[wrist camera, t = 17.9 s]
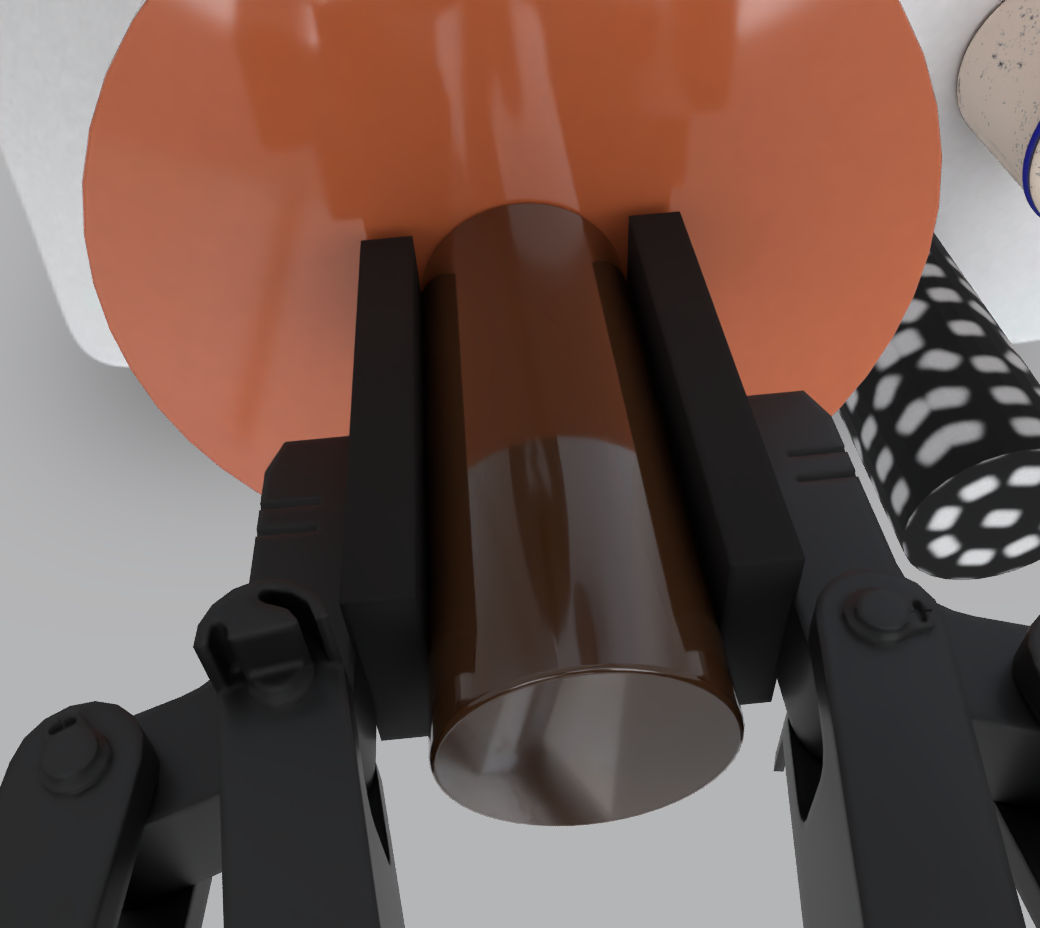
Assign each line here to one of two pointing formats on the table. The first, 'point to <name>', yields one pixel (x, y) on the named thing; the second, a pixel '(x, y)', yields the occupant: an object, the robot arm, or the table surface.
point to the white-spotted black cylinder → (952, 433)
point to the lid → (517, 309)
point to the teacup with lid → (1006, 91)
